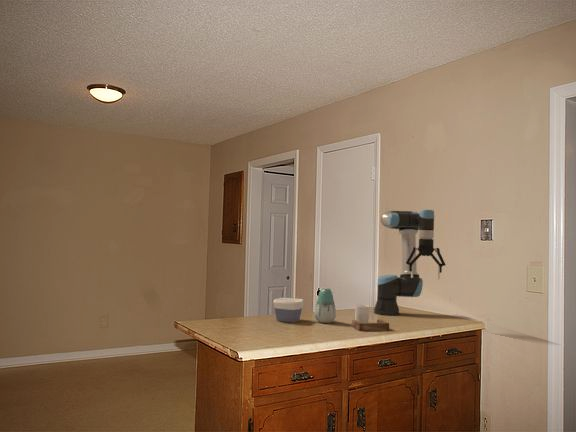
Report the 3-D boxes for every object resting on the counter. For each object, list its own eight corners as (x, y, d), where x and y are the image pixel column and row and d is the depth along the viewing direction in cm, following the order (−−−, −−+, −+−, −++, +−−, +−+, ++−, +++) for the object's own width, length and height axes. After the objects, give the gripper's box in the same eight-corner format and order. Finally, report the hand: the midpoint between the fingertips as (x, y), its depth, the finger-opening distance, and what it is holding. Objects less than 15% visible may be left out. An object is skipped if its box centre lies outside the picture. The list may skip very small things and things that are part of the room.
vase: (311, 322, 259) (312, 289, 259) (317, 319, 270) (318, 286, 270) (332, 324, 255) (333, 290, 255) (338, 321, 266) (339, 288, 266)
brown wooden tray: (352, 326, 251) (352, 320, 251) (380, 326, 255) (380, 319, 255) (359, 330, 242) (359, 323, 242) (389, 330, 246) (389, 323, 246)
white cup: (360, 326, 254) (360, 307, 254) (351, 323, 261) (351, 304, 261) (372, 325, 257) (372, 306, 258) (363, 322, 264) (363, 304, 265)
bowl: (269, 321, 259) (270, 300, 260) (280, 316, 273) (281, 297, 274) (296, 324, 253) (296, 302, 254) (306, 319, 268) (306, 299, 268)
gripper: (403, 237, 257) (402, 278, 257) (451, 239, 254) (450, 280, 254) (401, 237, 265) (400, 276, 264) (448, 239, 262) (447, 278, 262)
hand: (425, 278), depth 259 cm, fingers open, 13 cm apart
